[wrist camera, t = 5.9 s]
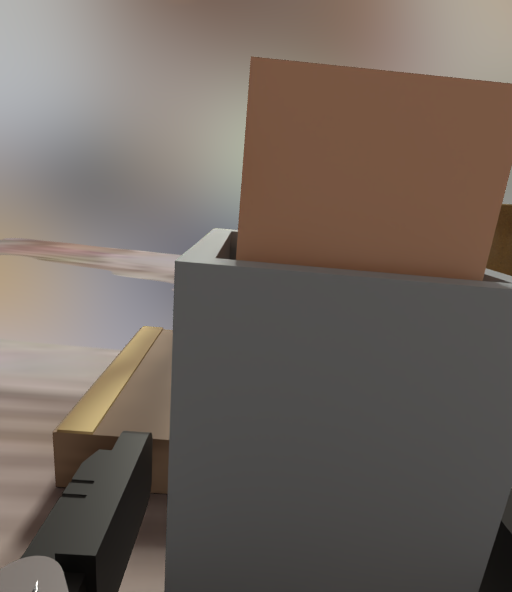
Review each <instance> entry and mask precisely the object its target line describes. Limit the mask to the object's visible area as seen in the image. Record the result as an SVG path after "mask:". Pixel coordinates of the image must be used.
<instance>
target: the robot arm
mask: <svg viewBox="0 0 512 592" xmlns="http://www.w3.org/2000/svg"><path fill="white" fill-rule="evenodd" d="M152 445H153V438H152V433H150V432H136V431H123V432H122V433H121V434H120V436H119V438H118V440H117V442H116V443H115V445H114V447H113V449H112V450H101V449H99V450H98V451H96V452H95V453H94V454H93V455H91V456H90V457H89V458H88V459H86V460H85V461H84V462H82V464H81V465H80V467H79V468H78V470H77V472H76V473H75V475H74V476H73V478H72V480H71V483H69V484H68V486H67V487H66V489H65V490H64V492H63V494H62V497H60V498H59V500H58V501H57V503H56V504H55V506H54V508H53V509H52V511H51V512H50V514H49V515H48V517H47V518H46V520H45V522H44V523H43V525H42V526H41V528H40V529H39V531H38V533H37V534H36V536H35V537H34V539H33V540H32V542H31V543H30V545H29V547H28V548H27V550H26V551H25V553H24V554H23V556H22V557H21V558H20V559H19V560H16V561H14V562H12V563H10V564H8V565H6V566H4V567H3V568H1V569H0V592H118V591H119V588H120V585H121V582H122V579H123V576H124V573H125V570H126V567H127V564H128V561H129V558H130V555H131V552H132V549H133V546H134V543H135V540H136V538H137V535H138V532H139V529H140V526H141V523H142V520H143V517H144V514H145V511H146V508H147V505H148V501H149V497H150V492H151V484H152ZM478 592H512V488H511V491H510V494H509V497H508V500H507V504H506V507H505V510H504V513H503V516H502V519H501V522H500V526H499V529H498V532H497V535H496V538H495V541H494V544H493V547H492V551H491V554H490V557H489V560H488V563H487V566H486V569H485V573H484V576H483V579H482V582H481V585H480V588H479V591H478Z"/></svg>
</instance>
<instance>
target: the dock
mask: <svg viewBox="0 0 512 592" xmlns="http://www.w3.org/2000/svg"><path fill="white" fill-rule="evenodd" d="M172 341H173V330H165V329H163V328H161V327H148V326H143V327H142V328H140V330H139V331H138V332H137V333H136V334H135V336H134V337H133V338H132V339H131V340H130V341H129V343H128V344H127V345H126V346H125V347H124V348H123V350H122V351H121V352H120V353H119V354H118V356H117V357H116V358H115V359H114V360H113V361H112V363H111V364H110V365H109V366H108V367H107V369H106V370H105V371H104V372H103V373H102V374H101V376H100V377H99V378H98V379H97V380H96V381H95V383H94V384H93V385H92V386H91V387H90V389H89V390H88V391H87V392H86V393H85V394H84V396H83V397H82V398H81V399H80V400H79V402H78V403H77V404H76V405H75V406H74V407H73V409H72V410H71V411H70V412H69V413H68V414H67V416H66V417H65V418H64V419H63V420H62V422H61V423H60V424H59V425H58V426H57V427H56V429H55V430H54V431H53V447H54V463H55V479H56V487H67V486H68V484H69V483H71V480H72V478H73V476H74V475H75V473H76V472H77V470H78V468H79V467H80V465H81V464H82V462H84V461H85V460H86V459H88V458H89V457H90V456H91V455H93V454H94V453H95V452H96V451H98V450H99V449H101V450H112V449H113V447H114V445H115V443H116V442H117V440H118V438H119V436H120V434H121V433H122V432H123V431H136V432H150V433H152V438H153V445H152V484H151V492H150V493H165V494H168V466H169V435H170V404H171V372H172Z"/></svg>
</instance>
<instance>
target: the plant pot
mask: <svg viewBox="0 0 512 592" xmlns="http://www.w3.org/2000/svg"><path fill="white" fill-rule="evenodd" d="M486 268H487V269H490V270H493V271H497V272H500V273H503V274H506V275H510V276H512V204H502V205H501V209H500V213H499V217H498V221H497V225H496V229H495V233H494V237H493V241H492V245H491V249H490V253H489V257H488V261H487V265H486Z"/></svg>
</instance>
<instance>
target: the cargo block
mask: <svg viewBox="0 0 512 592" xmlns="http://www.w3.org/2000/svg"><path fill="white" fill-rule="evenodd" d="M250 64H251V65H250V78H249V90H248V104H247V117H246V130H245V144H244V157H243V171H242V184H241V198H240V211H239V212H240V213H239V224H238V238H237V251H236V260H242V261H254V262H265V263H277V264H289V265H301V266H312V267H324V268H336V269H348V270H359V271H371V272H383V273H395V274H406V275H418V276H430V277H442V278H453V279H465V280H477V281H483V277H484V273H485V269H486V265H487V261H488V257H489V253H490V249H491V245H492V241H493V237H494V233H495V229H496V225H497V221H498V217H499V213H500V209H501V205H502V202H503V198H504V193H505V190H506V186H507V181H508V178H509V173H510V170H511V166H512V84H510V83H501V82H491V81H481V80H471V79H461V78H452V77H443V76H432V75H424V74H413V73H404V72H394V71H385V70H375V69H365V68H356V67H347V66H346V67H345V66H336V65H327V64H317V63H308V62H299V61H289V60H279V59H269V58H260V57H251V63H250Z"/></svg>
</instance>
